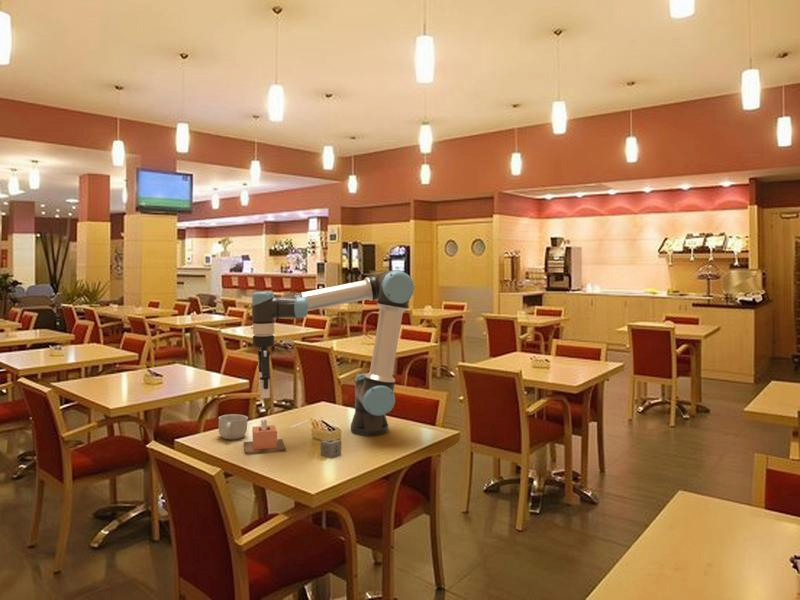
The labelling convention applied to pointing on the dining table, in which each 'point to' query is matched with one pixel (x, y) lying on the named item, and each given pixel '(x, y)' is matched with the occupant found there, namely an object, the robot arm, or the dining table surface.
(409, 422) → the dining table surface
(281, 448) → the brown base with post
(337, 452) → the dice cube
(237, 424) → the teacup
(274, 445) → the pink upright block
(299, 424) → the butter knife
